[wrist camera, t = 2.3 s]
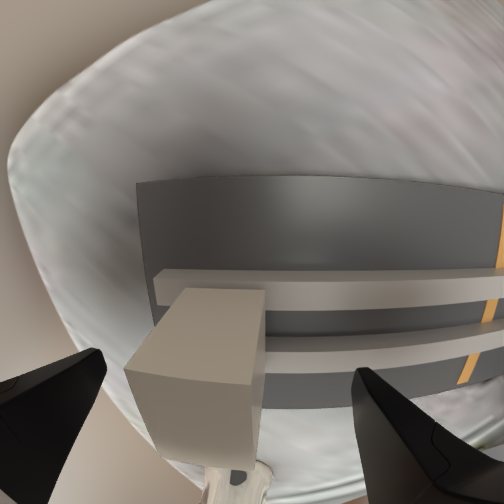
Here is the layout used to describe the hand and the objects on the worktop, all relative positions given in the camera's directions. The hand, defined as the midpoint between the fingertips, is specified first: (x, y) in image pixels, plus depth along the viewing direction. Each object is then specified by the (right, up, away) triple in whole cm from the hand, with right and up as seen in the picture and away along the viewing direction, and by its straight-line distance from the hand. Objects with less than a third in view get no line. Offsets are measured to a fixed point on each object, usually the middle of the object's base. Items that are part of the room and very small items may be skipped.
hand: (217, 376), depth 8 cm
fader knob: (0, +1, +4) cm, 4 cm away
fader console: (+8, +2, +5) cm, 10 cm away
